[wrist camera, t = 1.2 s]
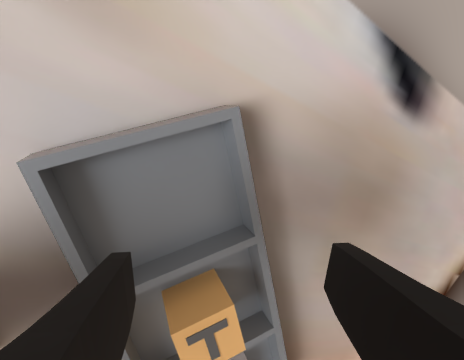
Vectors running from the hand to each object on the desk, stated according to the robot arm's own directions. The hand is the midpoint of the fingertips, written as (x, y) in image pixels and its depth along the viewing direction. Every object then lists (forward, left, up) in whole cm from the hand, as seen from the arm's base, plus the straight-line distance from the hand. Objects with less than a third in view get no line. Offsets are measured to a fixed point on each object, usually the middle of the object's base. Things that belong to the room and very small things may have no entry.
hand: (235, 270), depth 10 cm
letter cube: (-1, -8, -9) cm, 12 cm away
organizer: (-1, -8, -9) cm, 13 cm away
